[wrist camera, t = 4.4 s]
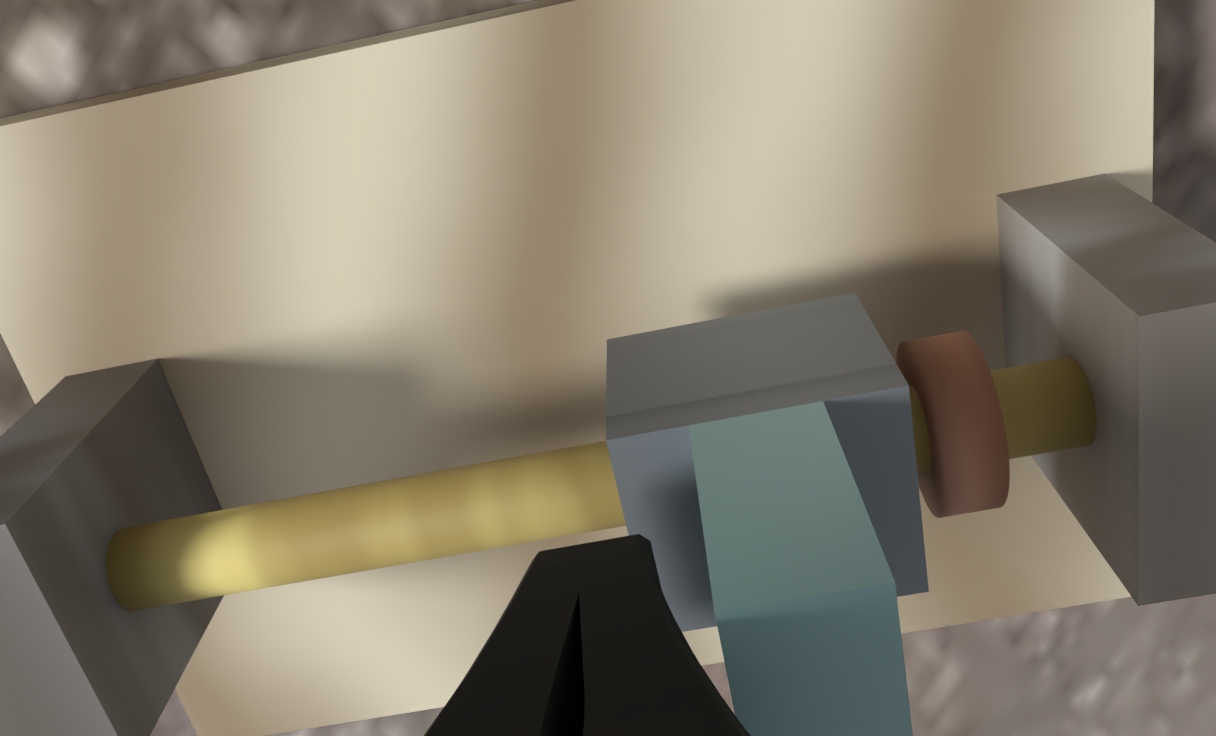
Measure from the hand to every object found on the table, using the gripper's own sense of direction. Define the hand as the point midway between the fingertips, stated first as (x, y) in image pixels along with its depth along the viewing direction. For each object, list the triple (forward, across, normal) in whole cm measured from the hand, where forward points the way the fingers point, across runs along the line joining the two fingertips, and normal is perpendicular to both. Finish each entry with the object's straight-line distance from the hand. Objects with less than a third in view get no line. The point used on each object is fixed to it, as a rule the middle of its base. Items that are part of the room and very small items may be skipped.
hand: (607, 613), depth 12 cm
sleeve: (+4, -2, 0) cm, 5 cm away
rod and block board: (+7, 0, 0) cm, 7 cm away
